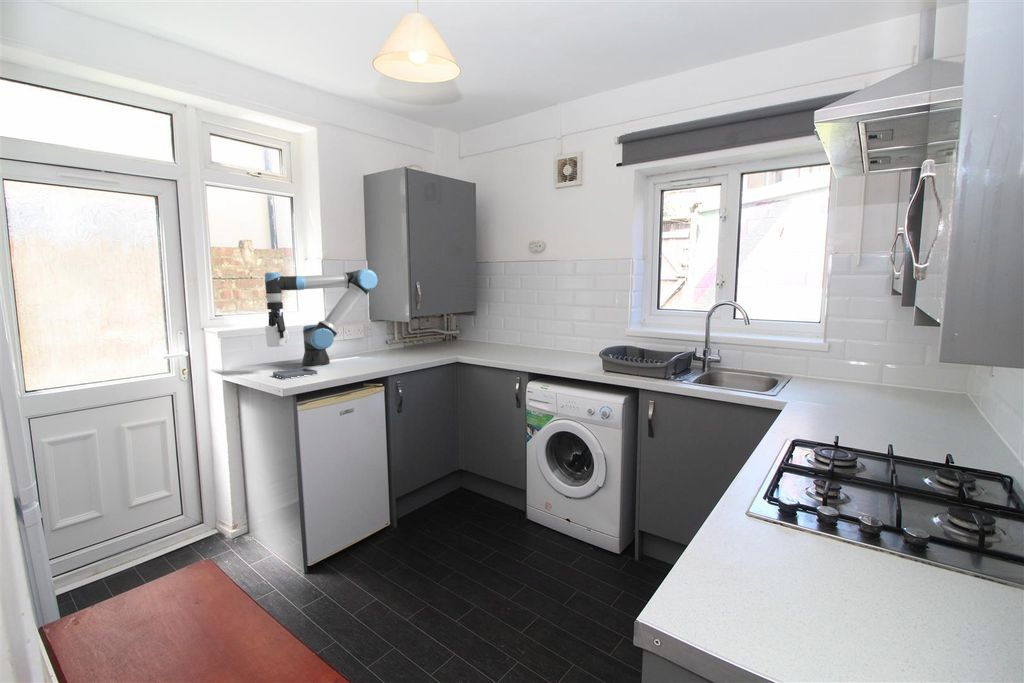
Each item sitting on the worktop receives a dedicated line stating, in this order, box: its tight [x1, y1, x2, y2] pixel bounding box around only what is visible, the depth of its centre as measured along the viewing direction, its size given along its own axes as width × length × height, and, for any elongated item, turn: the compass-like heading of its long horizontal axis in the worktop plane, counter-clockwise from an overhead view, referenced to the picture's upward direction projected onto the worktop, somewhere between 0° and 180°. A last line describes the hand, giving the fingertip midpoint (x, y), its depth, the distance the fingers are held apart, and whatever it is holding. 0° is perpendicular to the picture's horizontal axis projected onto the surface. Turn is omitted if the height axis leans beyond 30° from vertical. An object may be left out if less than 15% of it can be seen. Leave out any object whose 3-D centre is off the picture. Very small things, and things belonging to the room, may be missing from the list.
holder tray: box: [272, 367, 318, 380], centre depth 247 cm, size 17×15×2 cm
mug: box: [264, 324, 290, 348], centre depth 256 cm, size 9×12×11 cm
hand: (278, 343), depth 257 cm, fingers closed on mug, 10 cm apart
